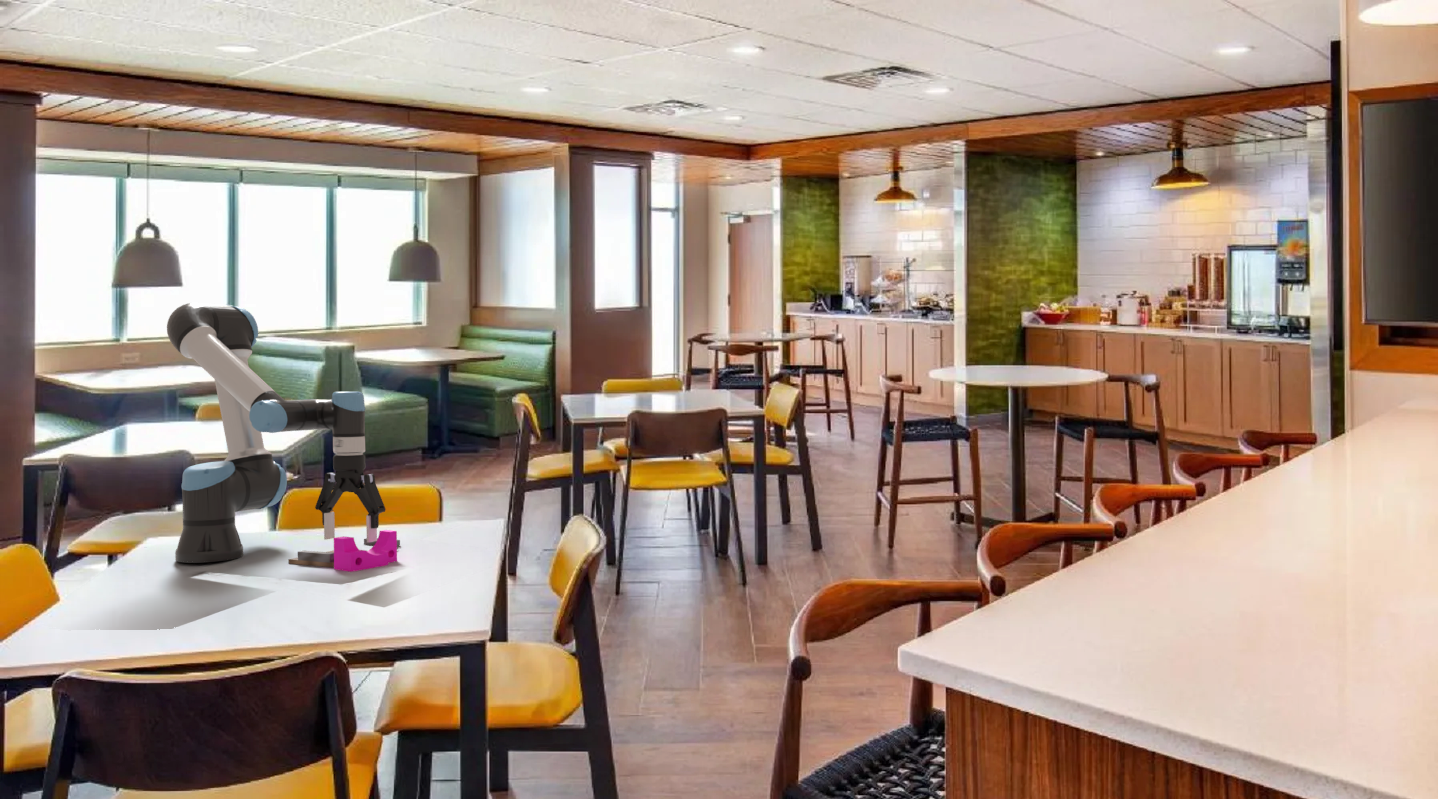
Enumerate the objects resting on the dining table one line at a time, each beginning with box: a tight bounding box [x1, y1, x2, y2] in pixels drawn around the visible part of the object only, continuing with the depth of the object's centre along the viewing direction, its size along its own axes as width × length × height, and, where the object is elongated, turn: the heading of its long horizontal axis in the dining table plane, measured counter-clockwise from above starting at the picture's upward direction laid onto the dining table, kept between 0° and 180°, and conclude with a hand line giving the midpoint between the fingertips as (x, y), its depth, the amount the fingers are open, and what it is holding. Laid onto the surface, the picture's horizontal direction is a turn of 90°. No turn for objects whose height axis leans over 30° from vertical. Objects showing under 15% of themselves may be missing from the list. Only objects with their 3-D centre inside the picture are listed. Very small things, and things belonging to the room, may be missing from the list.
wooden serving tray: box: [288, 537, 401, 568], centre depth 262 cm, size 16×24×3 cm, turn 156°
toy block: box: [333, 529, 398, 572], centre depth 250 cm, size 15×6×8 cm, turn 147°
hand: (350, 540), depth 262 cm, fingers open, 13 cm apart
